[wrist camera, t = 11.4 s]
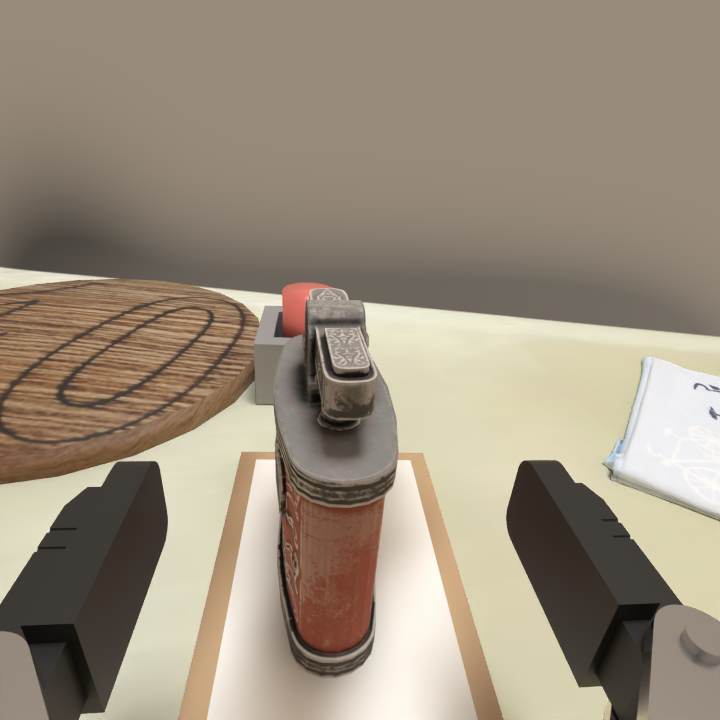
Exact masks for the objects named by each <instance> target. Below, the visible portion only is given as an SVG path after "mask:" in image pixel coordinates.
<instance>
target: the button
mask: <svg viewBox="0 0 720 720" xmlns="http://www.w3.org/2000/svg"><path fill="white" fill-rule="evenodd" d="M316 288H332V287H329V286H326V285H323V284H318V283H296V284H291V285H288V286H286V287H284V288H283V291H282V298H283V338H294V337H296V336H298V335H303V333H304V332H305V308H306V300H309V291H310V290H312V289H316Z"/></svg>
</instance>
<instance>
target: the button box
mask: <svg viewBox="0 0 720 720" xmlns="http://www.w3.org/2000/svg"><path fill="white" fill-rule="evenodd" d="M290 339H291V338H283V306H265V308H264V311H263V314H262V318H261V321H260V324H259V328H258V331H257V335H256V338H255V341H254V364H255V388H256V404H271V405H274V384H275V377H276V370H277V364H278V361H279V359H280V356H281V354H282V351H283V349H284V347H285V344H286V343H287V342H288V341H289V340H290Z"/></svg>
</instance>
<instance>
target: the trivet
mask: <svg viewBox="0 0 720 720" xmlns="http://www.w3.org/2000/svg"><path fill="white" fill-rule="evenodd" d="M258 328H259V320H258V318H257V317H256V316H255V315H254V314H253V313H252V312H251V311H250V310H249V309H248V308H246V307H245V306H244V305H243V304H242V303H240V302H238V301H235V300H233V299H231V298H229V297H227V296H225V295H223V294H221V293H217V292H214V291H210V290H206V289H203V288H199V287H195V286H191V285H184V284H177V283H170V282H162V281H150V280H131V279H105V280H77V281H66V282H56V283H46V284H35V285H29V286H23V287H17V288H11V289H5V290H0V484H6V483H13V482H21V481H28V480H35V479H43V478H50V477H57V476H61V475H65V474H69V473H72V472H76V471H80V470H83V469H87V468H90V467H94V466H98V465H101V464H105V463H109V462H112V461H116V460H119V459H123V458H127V457H130V456H134V455H136V454H139V453H141V452H143V451H146V450H148V449H150V448H153V447H155V446H157V445H159V444H162V443H164V442H166V441H169V440H171V439H173V438H175V437H178V436H180V435H182V434H185V433H187V432H189V431H191V430H194V429H195V428H197V427H198V426H200V425H201V424H203V423H204V422H206V421H207V420H209V419H210V418H212V417H213V416H215V415H216V414H218V413H219V412H221V411H222V410H224V409H225V408H227V407H228V406H230V405H231V404H233V403H234V402H235V401H236V400H237V399H238V398H239V397H240V396H241V395H242V393H243V392H244V391H245V390H246V389H247V388H248V387H249V385H250V384H251V383H252V382H253V381H254V380H255V364H254V341H255V338H256V335H257V331H258Z"/></svg>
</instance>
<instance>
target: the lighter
mask: <svg viewBox="0 0 720 720" xmlns="http://www.w3.org/2000/svg"><path fill="white" fill-rule="evenodd" d="M368 346H369V336H368V334H367V332H366V326H365V310H364V305H363V303H362V301H361V300H349V299H348V297H347V294H346V292H345V291H343V290H341V289H334V288H316V289H312V290H310V291H309V300H306V308H305V332H304V333H303V335H298V336H296V337H294V338H291V339H290V340H289V341H288V342H287V343H286V344H285V347H284V349H283V351H282V354H281V356H280V359H279V361H278V364H277V370H276V377H275V384H274V415H275V423H276V431H277V432H276V441H275V467H276V486H277V495H278V504H279V513H280V520H279V532H278V544H277V568H278V579H279V591H280V602H281V609H282V614H283V618H284V623H285V627H286V631H287V636H288V640H289V645H290V649H291V652H292V655H293V657H294V659H295V661H296V663H297V664H298V665H299V666H301V667H302V668H303V669H304V670H305V671H306V672H308V673H310V674H313V675H316V676H318V677H322V678H338V677H341V676H345V675H348V674H351V673H353V672H354V671H355V670H357V669H358V668H360V667H361V666H363V665H364V663H365V662H366V660H367V659H368V657H369V656H370V655H371V652H372V647H373V643H374V636H375V628H376V576H375V575H376V567H377V559H378V551H379V542H380V534H381V526H382V518H383V509H384V501H385V495H386V494H387V493H388V492H389V491H390V490H391V489H392V488H393V484H394V481H395V477H396V469H397V461H398V454H399V453H398V438H397V423H396V415H395V411H394V408H393V404H392V401H391V397H390V393H389V390H388V387H387V385H386V383H385V381H384V379H383V377H382V376H381V374H380V372H379V370H378V368H377V366H376V365H375V363H374V361H373V360H372V358H371V355H370V353H369V350H368Z"/></svg>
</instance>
